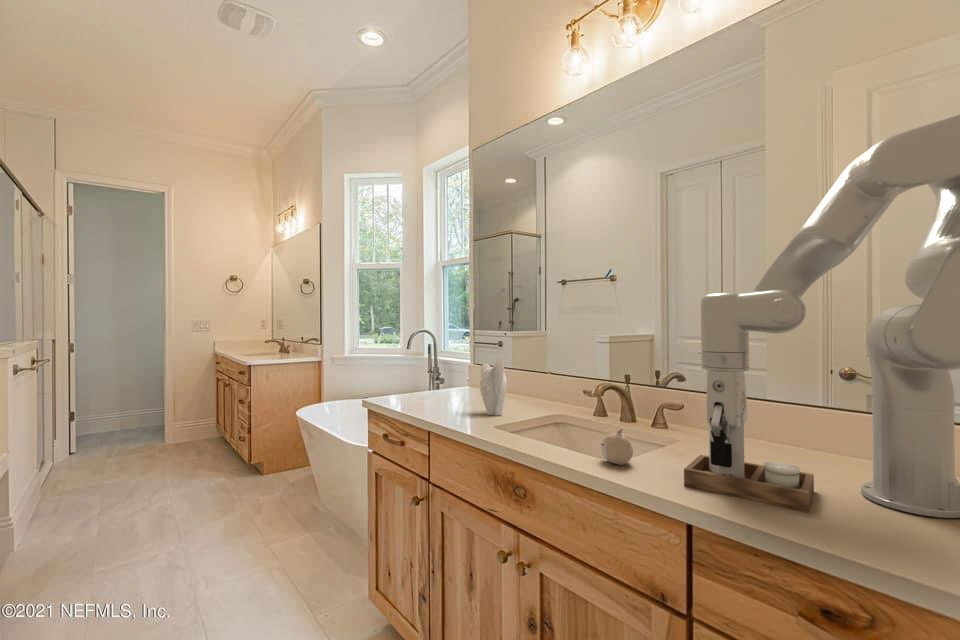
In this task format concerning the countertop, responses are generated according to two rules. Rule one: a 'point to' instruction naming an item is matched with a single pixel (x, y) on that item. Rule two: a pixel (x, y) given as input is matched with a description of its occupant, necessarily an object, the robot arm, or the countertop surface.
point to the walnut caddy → (750, 485)
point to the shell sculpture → (493, 387)
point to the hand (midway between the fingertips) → (726, 459)
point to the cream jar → (782, 474)
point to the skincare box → (737, 453)
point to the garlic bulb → (617, 448)
